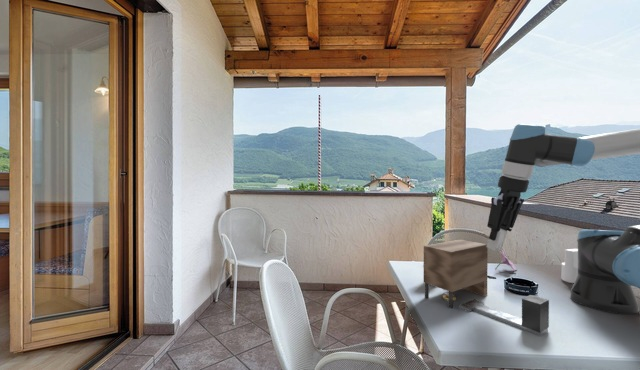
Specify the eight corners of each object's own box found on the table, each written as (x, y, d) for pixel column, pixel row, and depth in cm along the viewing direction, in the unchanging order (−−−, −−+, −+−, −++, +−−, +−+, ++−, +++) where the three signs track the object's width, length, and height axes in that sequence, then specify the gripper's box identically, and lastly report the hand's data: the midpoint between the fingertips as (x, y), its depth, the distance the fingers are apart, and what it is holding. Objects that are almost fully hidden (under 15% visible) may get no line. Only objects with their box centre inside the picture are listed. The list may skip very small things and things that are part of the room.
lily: (506, 278, 117) (520, 259, 115) (480, 261, 126) (492, 242, 125) (517, 282, 124) (530, 263, 122) (491, 265, 133) (504, 247, 132)
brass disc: (458, 300, 94) (458, 296, 94) (451, 303, 91) (451, 299, 91) (447, 296, 97) (447, 292, 97) (440, 298, 95) (440, 295, 95)
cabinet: (487, 294, 97) (487, 244, 97) (451, 308, 87) (451, 252, 86) (459, 285, 106) (459, 239, 106) (423, 297, 95) (423, 245, 95)
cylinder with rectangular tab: (581, 286, 105) (582, 253, 105) (555, 278, 114) (555, 248, 114) (598, 283, 108) (599, 251, 108) (572, 276, 117) (572, 246, 116)
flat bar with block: (551, 329, 74) (551, 298, 74) (537, 338, 70) (537, 305, 70) (474, 302, 91) (474, 277, 91) (459, 308, 87) (459, 281, 87)
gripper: (516, 174, 93) (497, 241, 99) (487, 173, 86) (467, 245, 92) (542, 180, 87) (519, 251, 93) (512, 179, 80) (489, 256, 86)
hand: (493, 248), depth 92 cm, fingers open, 2 cm apart
